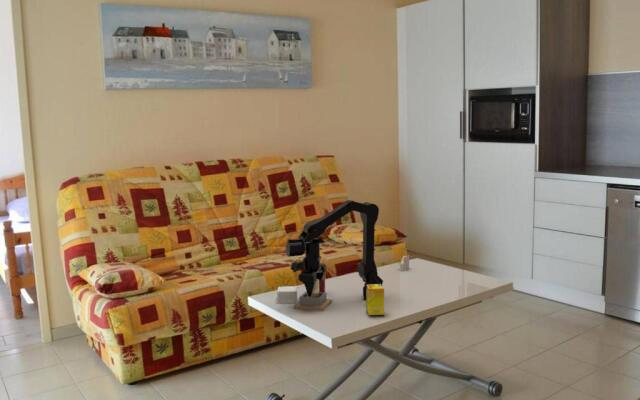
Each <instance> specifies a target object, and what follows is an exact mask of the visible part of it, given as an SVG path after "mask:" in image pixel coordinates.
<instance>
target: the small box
mask: <svg viewBox="0 0 640 400" xmlns="http://www.w3.org/2000/svg"><path fill="white" fill-rule="evenodd" d="M276 299H277V304H296V303H297V300H298V286H297V285H296V286H278V288H277V297H276Z"/></svg>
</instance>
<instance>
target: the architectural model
mask: <svg viewBox="0 0 640 400" xmlns="http://www.w3.org/2000/svg"><path fill="white" fill-rule="evenodd" d="M397 266H399V271H400V272H406V271H408V270H409V269H410V255H403V256H402V258H401V261H400V262H399V263H397ZM405 270H406V271H405Z"/></svg>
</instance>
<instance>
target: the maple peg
mask: <svg viewBox="0 0 640 400" xmlns="http://www.w3.org/2000/svg"><path fill="white" fill-rule="evenodd" d="M307 297H313V298H319V279H316V283H315V286H314V289H313V292H312V295H311V296H308V294H307Z"/></svg>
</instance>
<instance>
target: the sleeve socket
mask: <svg viewBox="0 0 640 400" xmlns="http://www.w3.org/2000/svg"><path fill="white" fill-rule="evenodd" d="M298 300H299V301H296V303H294V305H293V309H295V310H296V309H297V310H307V311H310V310H311V311H318V312H323V311H325V310H326V309H327V308H328V307H329V305H330V304H331V303H332V302H333V300H332V299H331V298H327V292H325V293H323V292H319V298H313V297H307V291H306V290H305V292H303V293H302V294H301V295H300V296H299V299H298Z"/></svg>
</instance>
